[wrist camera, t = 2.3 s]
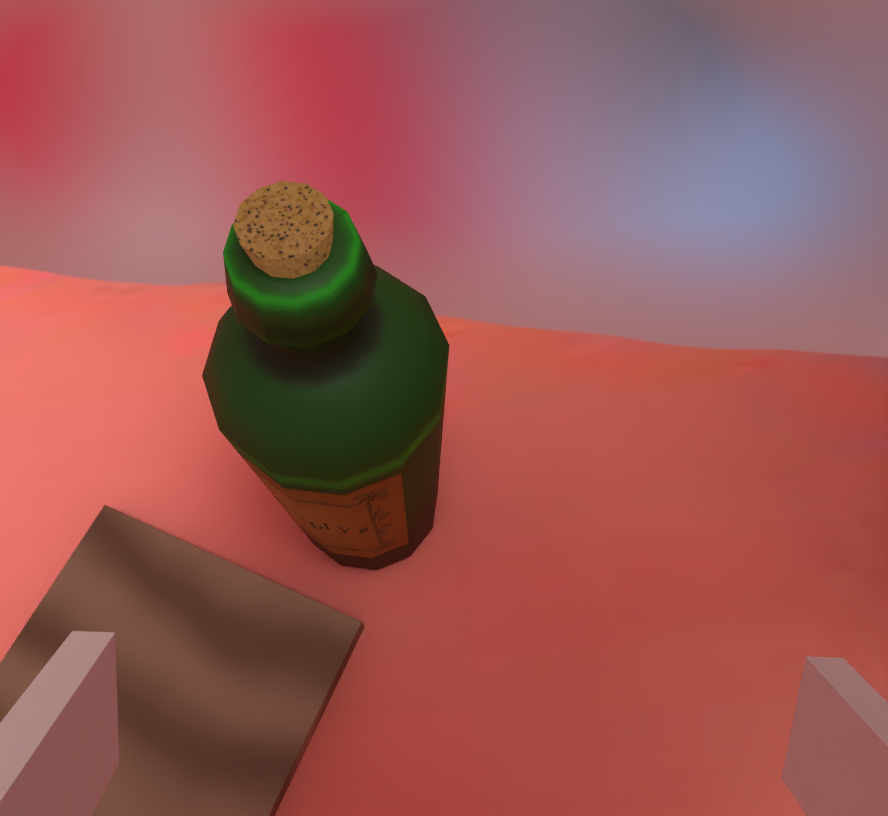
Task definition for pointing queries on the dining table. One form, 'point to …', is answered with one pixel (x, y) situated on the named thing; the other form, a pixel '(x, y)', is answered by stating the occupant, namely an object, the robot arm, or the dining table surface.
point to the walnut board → (191, 669)
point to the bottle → (329, 378)
